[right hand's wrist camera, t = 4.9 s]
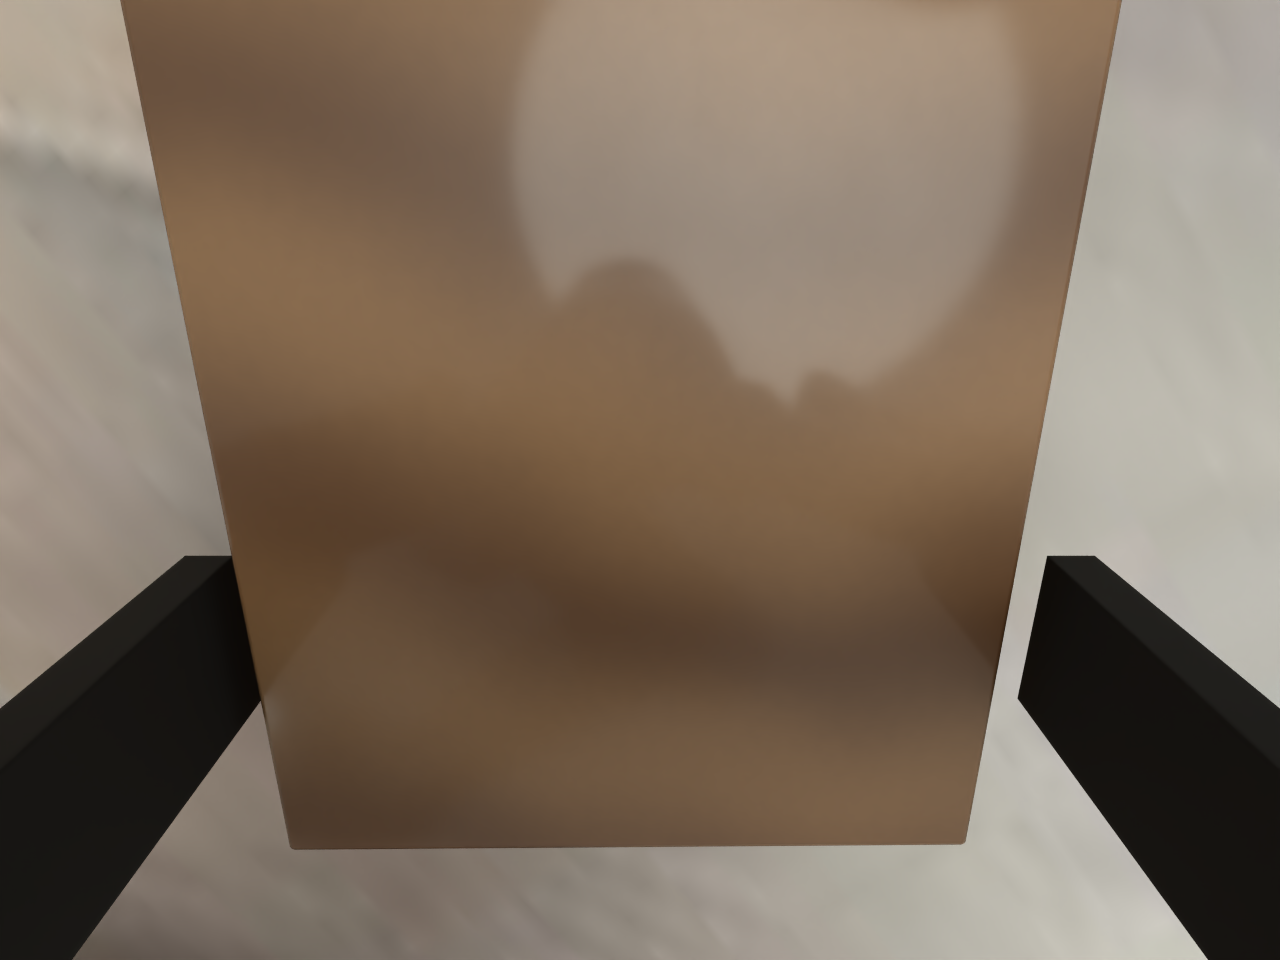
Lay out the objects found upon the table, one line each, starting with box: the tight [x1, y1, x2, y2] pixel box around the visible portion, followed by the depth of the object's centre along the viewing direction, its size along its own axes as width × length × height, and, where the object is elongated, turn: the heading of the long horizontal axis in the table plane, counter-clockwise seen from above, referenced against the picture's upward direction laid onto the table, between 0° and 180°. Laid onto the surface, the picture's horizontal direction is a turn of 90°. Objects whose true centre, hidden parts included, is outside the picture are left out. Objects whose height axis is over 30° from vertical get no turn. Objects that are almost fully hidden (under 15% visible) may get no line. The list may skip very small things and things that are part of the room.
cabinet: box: [120, 0, 1122, 850], centre depth 14 cm, size 22×12×10 cm, turn 0°
